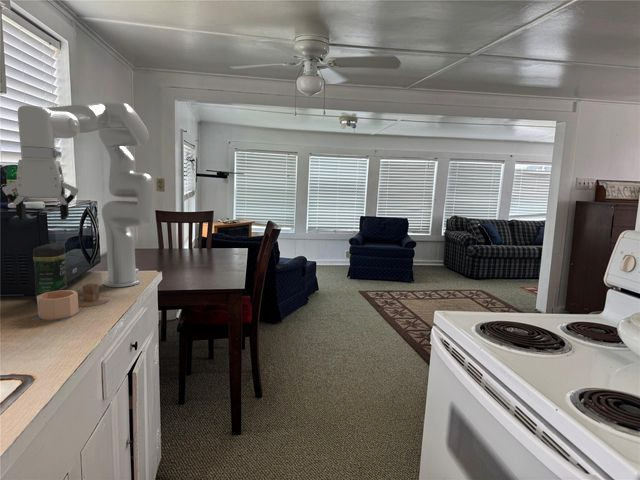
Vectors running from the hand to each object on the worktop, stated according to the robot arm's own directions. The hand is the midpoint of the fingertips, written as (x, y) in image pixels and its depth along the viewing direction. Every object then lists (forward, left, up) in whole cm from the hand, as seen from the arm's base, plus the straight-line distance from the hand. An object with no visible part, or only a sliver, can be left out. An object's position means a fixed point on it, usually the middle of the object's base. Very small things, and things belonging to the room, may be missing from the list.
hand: (43, 219), depth 109 cm
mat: (-4, 0, -29) cm, 29 cm away
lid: (-17, +2, -29) cm, 34 cm away
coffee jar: (-19, -12, -29) cm, 37 cm away
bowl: (-4, 0, -29) cm, 29 cm away
